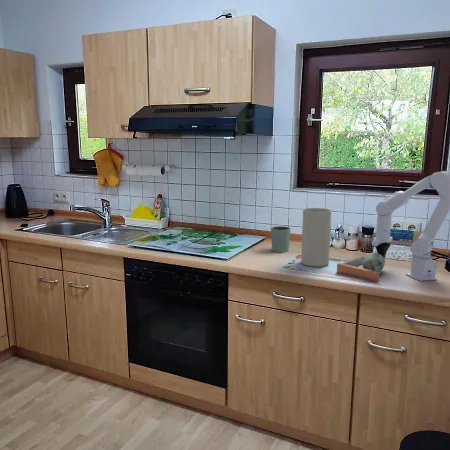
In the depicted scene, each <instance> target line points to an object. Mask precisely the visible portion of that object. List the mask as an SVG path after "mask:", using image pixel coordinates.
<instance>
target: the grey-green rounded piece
mask: <svg viewBox="0 0 450 450" xmlns="http://www.w3.org/2000/svg"><path fill="white" fill-rule="evenodd" d="M364 257H365V258H364V260H363V264H361V266H362V268H364V269H368V270H372V271H377V272H379V275H380V274H381V273H382V271H383V270H384V267H385V264H386V259H385V258H384V257H383V256H382V255H380V254H378V253H377V252H371V253H368V254H366V255H365V256H364Z"/></svg>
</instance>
